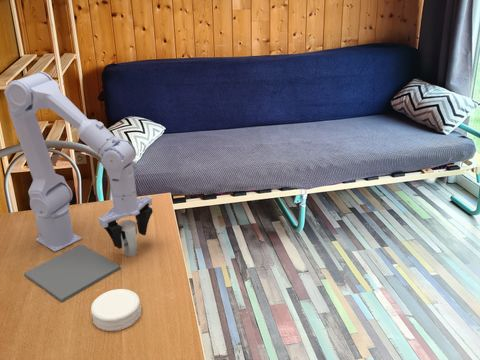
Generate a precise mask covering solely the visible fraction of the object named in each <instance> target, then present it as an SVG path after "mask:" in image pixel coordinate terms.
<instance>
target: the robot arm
mask: <svg viewBox="0 0 480 360" xmlns="http://www.w3.org/2000/svg"><path fill="white" fill-rule="evenodd" d="M60 89H61V88H60V86H59V82H58V81H56V80H54V79H53V78H52V77H51V76H50V74H48V73H47V72H45V71H37V72H35V73H34V74H30V75H28V76H26V77H23V78H19V79H16V80H12V81H10V82H9V83H8V84H7V86H6V88H5V90H4V91H3V93H4V96H5V99H6V102H7V106H8V114H9V118H10V119H11V120H10V121H11V122H12V126H13V128H14V130H15V131H14V132H15V133H16V136H17V139H18V141H19V145H20V146H21V150H22V152H23V155H24V159H25V162H26V163H27V167H28V169H29V171H30V175H31V178H32V183H31V185H30V187H29V189H28V196H29V206H30V209H31V211H32V212H33V214H35V215H34V220H35V225H36V231H37V233H38V237H36V238H35V241H36V242H38V243H39V244H41V245H43V246H44V247H46V248H47V249H49V250H51V251H53V252H58V251H60V250H62V249H65V248H67V247H69V246H70V245H73V244H74V243H76V242H79V241H81V240H82V237H81V236H79V235H77V234H76V233H74V229H73V224H72V219H71V212H70V208H69V207H70V206H71V205H70V202H71V201H72V199H73V191H72V189H71V187H70V186H69V185H68V183H67V182H66V179H65V177H64V176H63V175H60V174H58V173H56V170H55V168H54V165H53V161H52V158H51V155H50V153H49V149H48V147H47V144H46V141H45V139H44V136H43V135H44V134H43V132H42V129H41V127H40V124H39V121H38V118H37V115H36V114H37V112H38V111H39V110H51V111H53V112H54V114H56V115H57V116H59V117H60V118H62V119H63V120H64V121H65V122H66V123H68V124H69V125H71V126H72V127H73V128H74V129H76V131H78V138H79V139H80V140H81V141H82V142H83V143H84V144H85V145H87V146H88V147H89V148H90V149H91V150H92V151H94V152H95V153H96V154H97V155H98V156H99V157H100V158H101V159H100V163H101V165H102V166H103V168H104V169H105V170H106V173H107V176H108V179H109V186H110V192H111V199H112V206H113V207H112V208H111V209H110V210H109V211H107V212H106V213H105V214H104V215H102V216H101V217H98V223H99V226H100V227H102V228H103V229H104V230H105V231H106V232H107V234H108V235H109V237H110V239H111V241H112V243H113V245H114V247H115V248H117V249H119V250H120V249H123V247H122V240H121V230H122V226H120V225H119V223H118V222H117V221H119V220H120V219H123V218H127V217H131V216H132V217H135V222H136V223H137V225H136V226H137V233H139V235H142V236H146V235H147V231H148V225H149V221H150V218H151V216H152V214H153V213H154V211H153V208H152V207H151V206H153V200H152V199H153V198H152V197H150V196H148V195H146V196H143V197H140V198H138V195H137V189H136V188H137V187H136V180H135V171H134V164H133V161H135V159H136V158H137V157H136V156H137V150H136V149H135V146H134V145H133V144H132V142H131V141H129V140H128V139H125V138H123V139H122V138H120V137H119V136H118V137H117V136H116V135H115V134H114V133H112V132H111V131H110V130H109V129H107V127H106V126H105V125H104V123H103V122H101V121H98V120H97V119H89V118H87V116H86V115H85V114H84V113H83V112H82V111H81V110H80V109H79V108H78V107H77V106H76V105H75V104H74V103H73V102H72V101H71V100H70V98H68V97H67V96H66V95H65V94H64V93H63V92H62V91H61V90H60ZM137 220H138V222H137Z"/></svg>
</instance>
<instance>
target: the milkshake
mask: <svg viewBox="0 0 480 360" xmlns="http://www.w3.org/2000/svg"><path fill="white" fill-rule="evenodd" d="M137 222H138V220H137V221H134V220H132V219H124V220H121V221H120V222H119V223H118V225H120V226H122V230H121V240H122V249H123V253H124V256H126V257H129V258H132V257H135V256H136V255H137V254H138V238H137V233H138V227H137Z"/></svg>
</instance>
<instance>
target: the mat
mask: <svg viewBox="0 0 480 360" xmlns="http://www.w3.org/2000/svg"><path fill="white" fill-rule="evenodd" d="M121 269H122V267H121V265H119V264H118V263H116V262H115V261H113V260H111V259H109V258H107V257H105V256H104V255H102V254H100V253H99V252H97V251H95V250H93V249H92V248H90V247H88V246H86V245H85V244H82V243H81V244H79V245H77V246H75V247H73V248H71V249H69V250H67V251H64V252H63V253H61V254H59V255H56V256H55V257H53V258H51V259H49V260H47V261H45V262H43V263H41V264H40V265H37V266H35V267H33V268H31V269H29V270H27V271H25V272H24V273H23V274H24V277H26V278H27V279H28V280H29V281H31V282H33V283H34V284H35V285H37V286H38V287H39V288H41V289H42V290H44V291H45V292H46V293H48V294H50V295H51V296H52V297H54V298H55V299H56V300H57V301H59V302H61V303H64V302H65V301H67V300H69V299H70V298H72V297H74V296H76V295H78V294H80V293H81V292H83V291H84V290H86V289H88V288H90V287H91V286H93V285H95V284H97V283H98V282H100V281H102V280H104V279H105V278H108V277H109V276H111V275H112V274H114V273H116V272H118V271H119V270H121Z"/></svg>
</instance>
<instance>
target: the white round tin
mask: <svg viewBox="0 0 480 360" xmlns="http://www.w3.org/2000/svg"><path fill="white" fill-rule="evenodd" d="M141 305H142V304H141V299H140V297H139V295H138V294H137V293H136V292H135V291H133V290H129V289H125V288H117V289H111V290H109V291H105V292H103V293H102V294H100V295H99V296H97V297H96V298H95V299H94V301H93V302H92V303H91V307H90V312H91V317H92V321H93V324H94V326H95V327H97V328H98V329H99V330H102V331H106V332H117V331H123V330H124V329H127V328H129V327H131V326H132V325H133V324H135V323H136V322H137V321H138V320H139V318H140V317H141V314H142V306H141Z"/></svg>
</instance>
